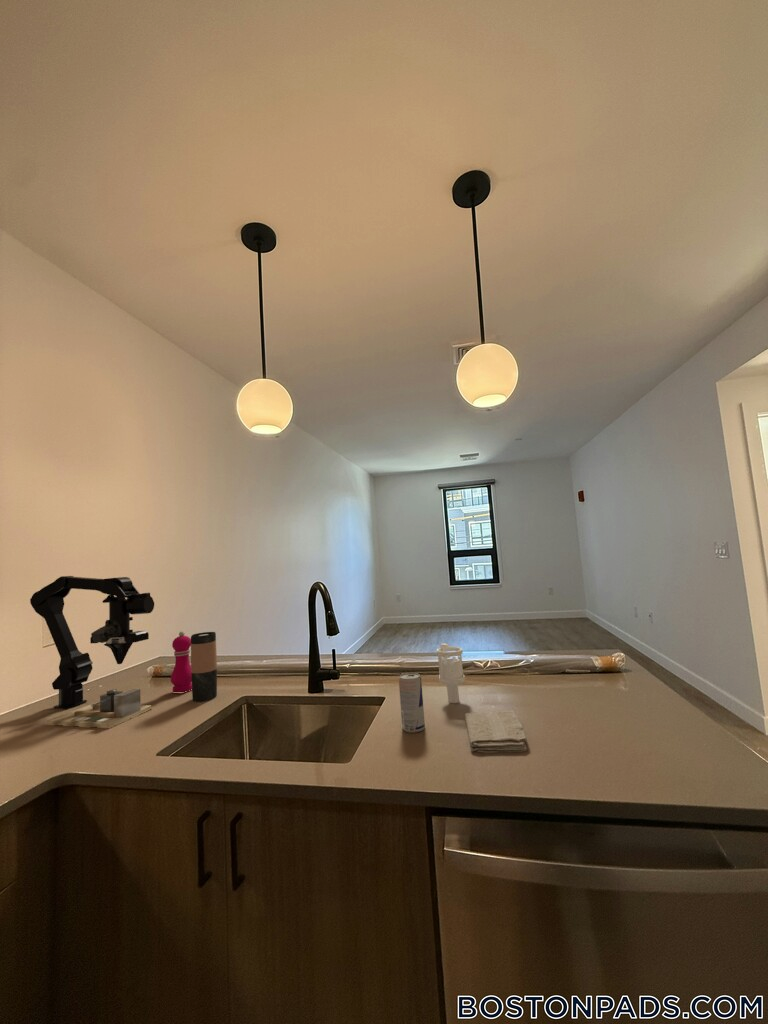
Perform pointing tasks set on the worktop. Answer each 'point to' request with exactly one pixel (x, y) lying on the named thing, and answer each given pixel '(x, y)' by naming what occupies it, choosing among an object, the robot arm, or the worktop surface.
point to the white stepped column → (450, 670)
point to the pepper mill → (181, 664)
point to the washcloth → (495, 732)
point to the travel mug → (203, 666)
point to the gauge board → (92, 717)
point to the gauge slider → (107, 701)
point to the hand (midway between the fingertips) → (119, 664)
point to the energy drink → (411, 702)
